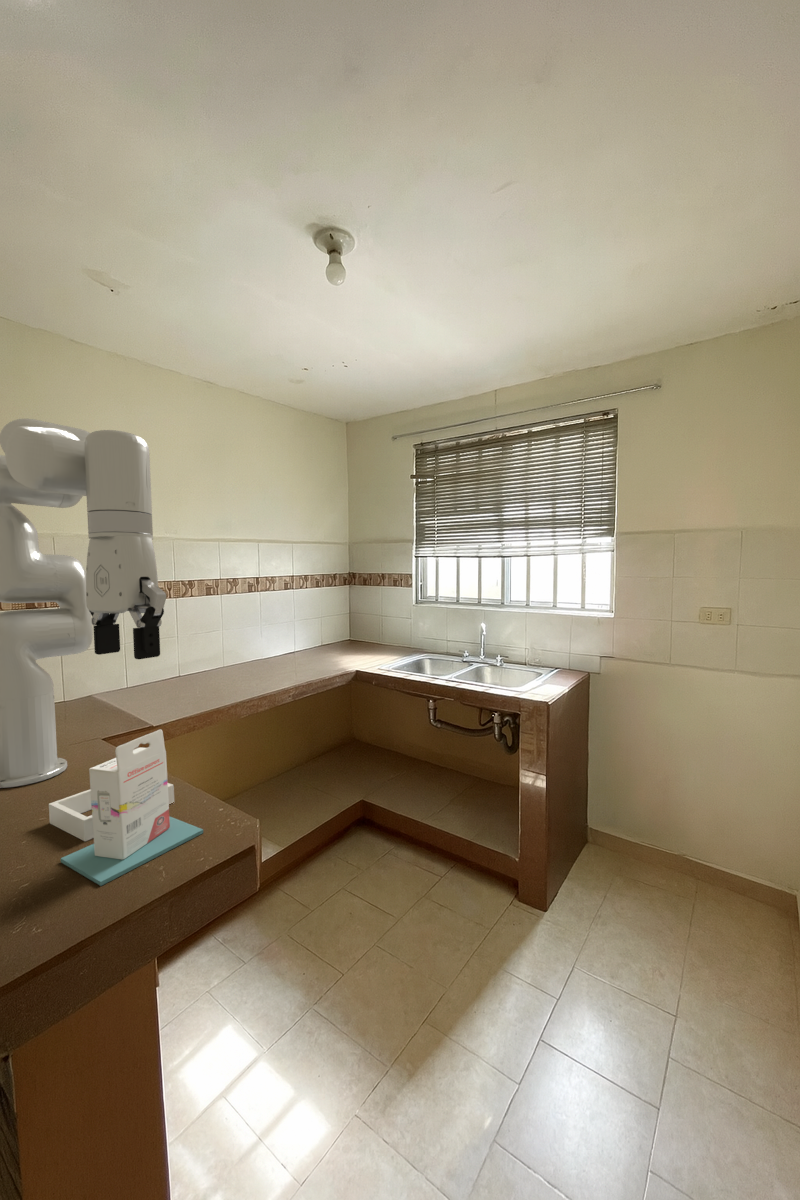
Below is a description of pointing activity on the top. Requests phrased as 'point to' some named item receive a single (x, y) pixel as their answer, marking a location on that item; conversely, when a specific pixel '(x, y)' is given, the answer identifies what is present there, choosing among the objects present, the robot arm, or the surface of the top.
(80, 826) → the white rectangular frame
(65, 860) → the mat
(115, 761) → the ink cartridge box
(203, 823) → the top surface
